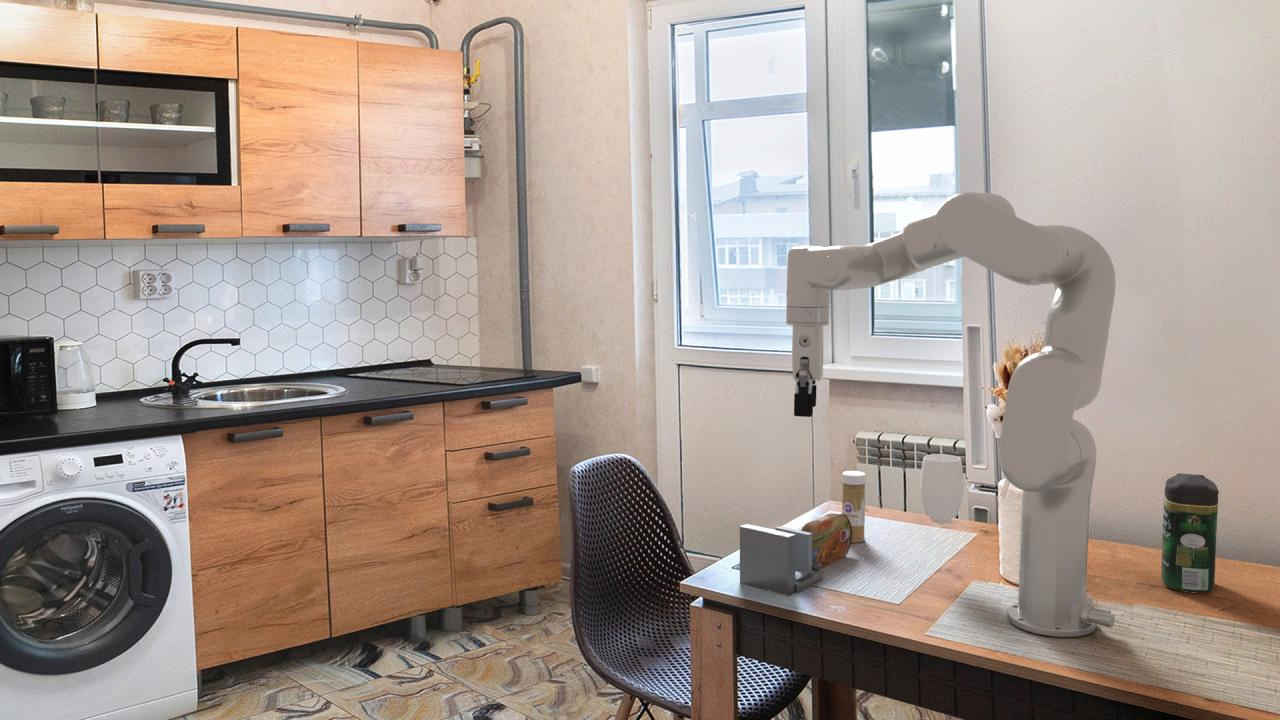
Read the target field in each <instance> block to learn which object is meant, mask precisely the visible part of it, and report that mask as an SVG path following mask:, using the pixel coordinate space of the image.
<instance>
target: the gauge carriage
mask: <svg viewBox="0 0 1280 720" xmlns="http://www.w3.org/2000/svg"><path fill="white" fill-rule="evenodd" d="M774 530H777V531H782V532H786V533H791V534H795V572H798V573H802V574H806V575H808V574H810V573H812V572H813V568H812V533H809V532H804V531H801V529H794V528H789V527H786V526H785V527H784V526H781V525H779V526H777V527H775V528H774Z"/></svg>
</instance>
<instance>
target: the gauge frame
mask: <svg viewBox="0 0 1280 720" xmlns="http://www.w3.org/2000/svg"><path fill="white" fill-rule="evenodd" d="M821 581H822V582H823V581H824V572H822V571H820V570H818V571H817V570H815V571H812V573H810V574H806V575H803V576H801V577H799V578H797V579H796V571H795V534H791V533H786V532H782V531H777V530H775V529H772V528H767V527H763V526H758V525H755V524H749V523H745V524H742V525H739V583H740V584H742V585H747V586H750V587H755V588H757V589H761V590H765V591H769V592H773V593H775V594H780V595H783V596H787V597H789V596H792V595H794V594H798V593H801V592H802V591H805V590H807V589H809V588H811V587H813V586H815V585H817V584H820V583H821Z"/></svg>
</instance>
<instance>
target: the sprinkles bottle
mask: <svg viewBox="0 0 1280 720" xmlns="http://www.w3.org/2000/svg"><path fill="white" fill-rule="evenodd" d="M841 482H842V502H841V503H842V507H841V514H844V515H846V516H847V517H848V518H849V520H850V522H851V527H852V542H851V544H852V543H853V544H857V543H859V544H860V543H862V542H865V540H866V539H865V538H866V537H865V524H866V523H865V521H866V519H865V518H866V514H865V513H866V483H867V475H866V472H863V471H859V470H845V471H843V472H842V473H841Z"/></svg>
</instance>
